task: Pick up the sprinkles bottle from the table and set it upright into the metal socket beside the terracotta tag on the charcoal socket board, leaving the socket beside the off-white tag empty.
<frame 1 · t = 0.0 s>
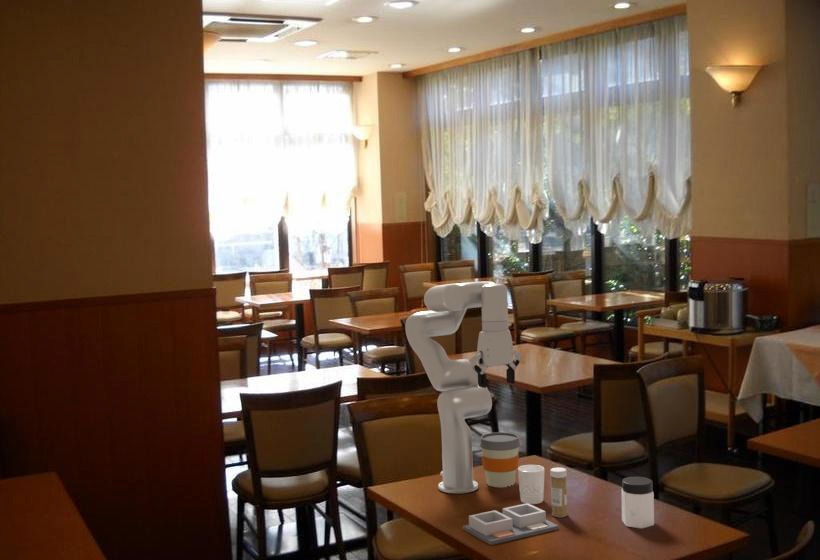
hand: (496, 385, 272), 37 cm above the table, tool pointing down, fingers open, 9 cm apart
socket board: (510, 529, 257), on the table
sprinkles bottle: (559, 516, 267), on the table
white cup: (531, 501, 281), on the table
jar: (637, 523, 259), on the table
reusable coffee cup: (500, 483, 300), on the table
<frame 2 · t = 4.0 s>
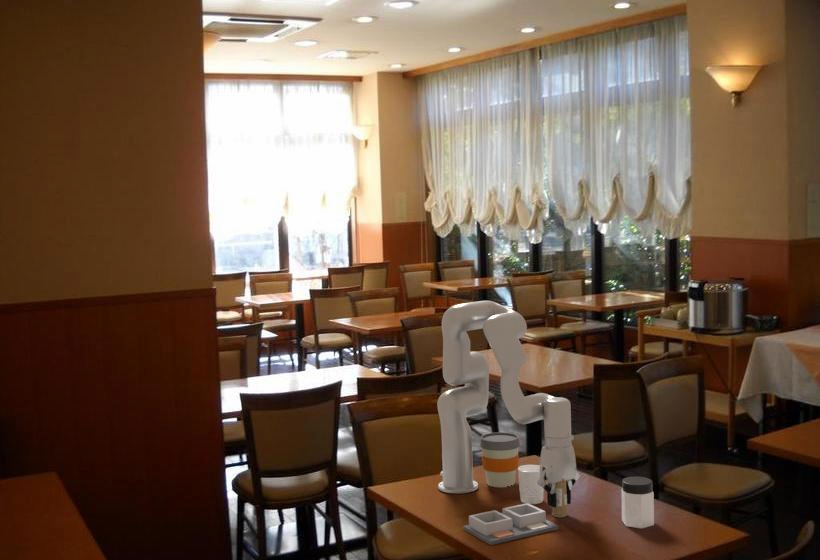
hand: (559, 503, 267), 3 cm above the table, tool pointing down, fingers closed on sprinkles bottle, 4 cm apart
sprinkles bottle: (559, 515, 267), on the table, touching gripper
everything else where it was.
when the fingers open (6 cm above the table, at t = 10.4 s): sprinkles bottle drops 1 cm, resting on socket board.
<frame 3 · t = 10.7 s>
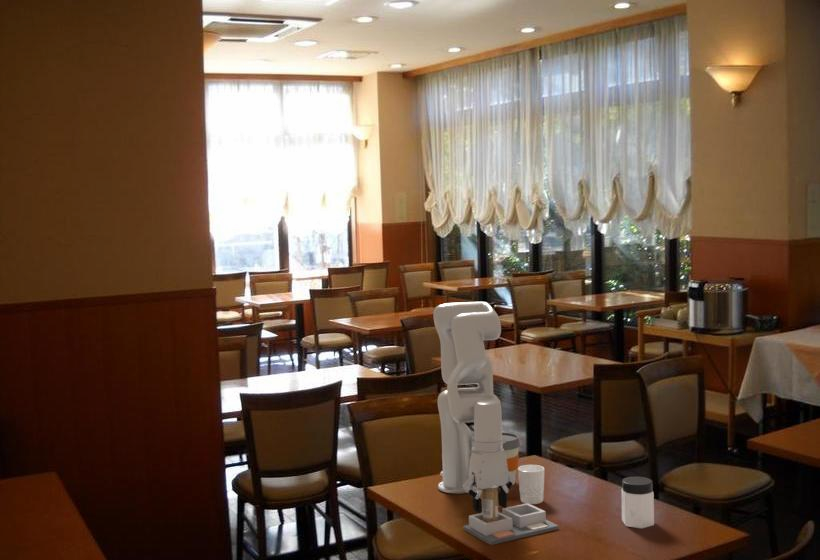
hand: (490, 508, 255), 6 cm above the table, tool pointing down, fingers open, 7 cm apart
sprinkles bottle: (490, 528, 256), point 1 cm above the table, touching socket board
everything else where it was.
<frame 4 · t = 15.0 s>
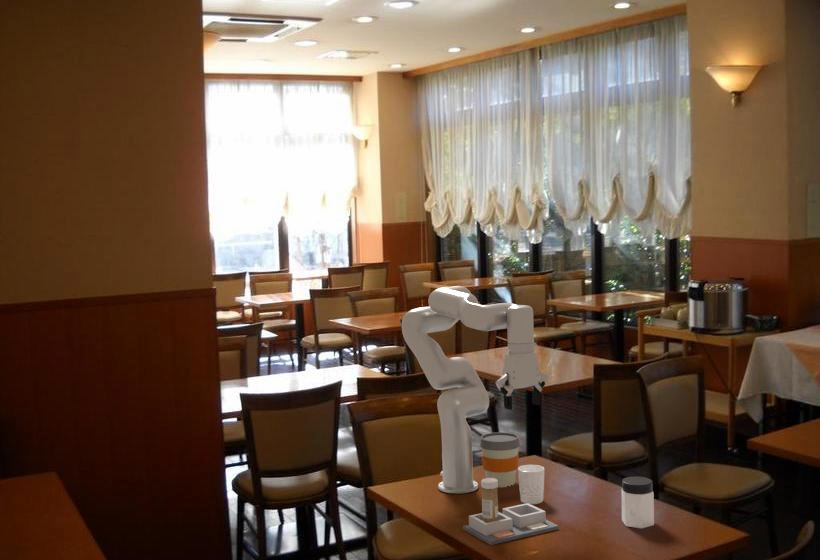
hand: (522, 406, 271), 30 cm above the table, tool pointing down, fingers open, 9 cm apart
nothing on the table moved.
at the end: sprinkles bottle 0.1 cm from the target spot on the socket board, point 0.8 cm above the socket board's base; sprinkles bottle tilted 0°; the gripper is holding nothing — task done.
